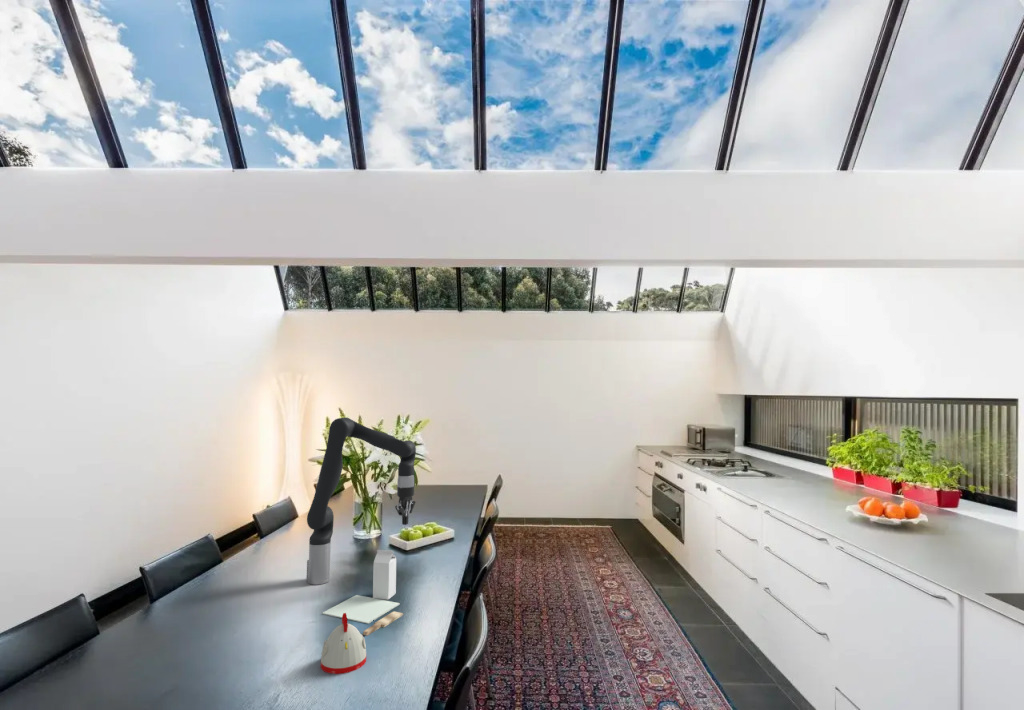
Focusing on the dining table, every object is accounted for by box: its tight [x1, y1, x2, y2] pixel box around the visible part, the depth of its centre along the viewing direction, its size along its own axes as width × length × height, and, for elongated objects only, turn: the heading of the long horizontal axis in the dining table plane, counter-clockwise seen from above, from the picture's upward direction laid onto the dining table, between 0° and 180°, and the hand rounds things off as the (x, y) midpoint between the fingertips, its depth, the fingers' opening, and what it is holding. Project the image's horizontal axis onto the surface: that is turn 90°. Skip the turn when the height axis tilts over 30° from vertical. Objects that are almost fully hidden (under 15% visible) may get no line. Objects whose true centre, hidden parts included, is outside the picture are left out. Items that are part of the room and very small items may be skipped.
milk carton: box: [372, 549, 397, 601], centre depth 225 cm, size 7×7×19 cm
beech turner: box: [362, 611, 404, 636], centre depth 198 cm, size 20×4×1 cm, turn 157°
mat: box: [321, 594, 401, 625], centre depth 211 cm, size 22×20×1 cm
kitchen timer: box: [320, 613, 367, 675], centre depth 170 cm, size 14×14×15 cm
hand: (405, 524), depth 240 cm, fingers closed
